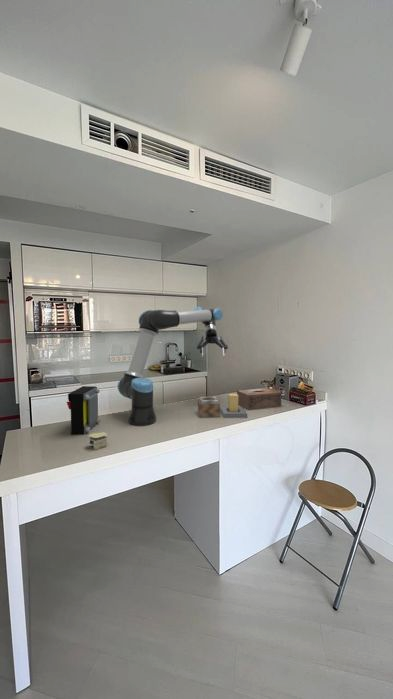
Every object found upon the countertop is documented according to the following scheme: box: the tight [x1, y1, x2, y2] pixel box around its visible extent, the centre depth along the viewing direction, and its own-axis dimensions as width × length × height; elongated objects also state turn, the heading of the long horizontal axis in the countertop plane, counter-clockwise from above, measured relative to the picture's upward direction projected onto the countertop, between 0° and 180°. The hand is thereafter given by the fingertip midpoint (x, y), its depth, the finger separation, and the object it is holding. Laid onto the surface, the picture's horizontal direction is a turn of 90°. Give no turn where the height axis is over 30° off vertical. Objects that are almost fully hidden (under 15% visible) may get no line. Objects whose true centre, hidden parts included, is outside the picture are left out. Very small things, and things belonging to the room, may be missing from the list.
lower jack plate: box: [220, 406, 248, 419], centre depth 176 cm, size 14×14×2 cm
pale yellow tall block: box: [227, 393, 239, 412], centre depth 175 cm, size 5×5×12 cm
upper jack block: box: [197, 396, 221, 419], centre depth 175 cm, size 12×12×10 cm
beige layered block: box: [88, 431, 108, 450], centre depth 127 cm, size 10×9×6 cm
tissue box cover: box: [236, 387, 282, 411], centre depth 196 cm, size 26×14×10 cm, turn 112°
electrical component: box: [66, 385, 101, 436], centre depth 148 cm, size 18×10×20 cm, turn 179°
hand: (213, 356), depth 186 cm, fingers open, 13 cm apart
